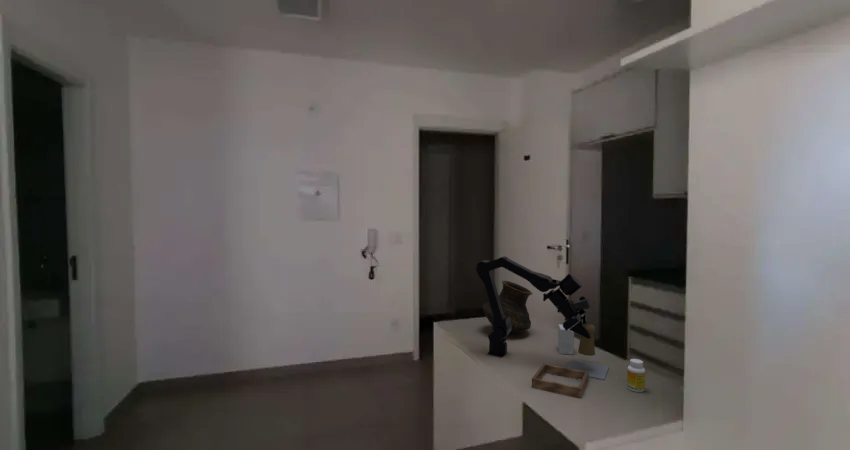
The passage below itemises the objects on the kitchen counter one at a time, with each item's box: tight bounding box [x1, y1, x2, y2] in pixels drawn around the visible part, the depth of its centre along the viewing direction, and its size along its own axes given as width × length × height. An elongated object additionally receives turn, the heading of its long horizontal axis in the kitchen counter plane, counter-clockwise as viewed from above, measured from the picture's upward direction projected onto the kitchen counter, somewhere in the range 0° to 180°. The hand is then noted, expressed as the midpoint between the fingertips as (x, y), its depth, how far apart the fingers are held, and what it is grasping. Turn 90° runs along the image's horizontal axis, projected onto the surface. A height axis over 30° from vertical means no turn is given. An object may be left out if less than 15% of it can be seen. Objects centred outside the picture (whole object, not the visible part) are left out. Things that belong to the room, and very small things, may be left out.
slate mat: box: [565, 359, 610, 381], centre depth 160 cm, size 14×14×1 cm
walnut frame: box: [531, 363, 590, 399], centre depth 147 cm, size 16×16×3 cm
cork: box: [577, 323, 596, 357], centre depth 159 cm, size 6×6×11 cm
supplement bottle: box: [626, 358, 646, 393], centre depth 144 cm, size 5×5×10 cm
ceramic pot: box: [482, 280, 533, 334], centre depth 205 cm, size 24×24×22 cm
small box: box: [557, 324, 575, 355], centre depth 180 cm, size 8×6×10 cm
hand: (591, 336), depth 159 cm, fingers closed on cork, 5 cm apart
